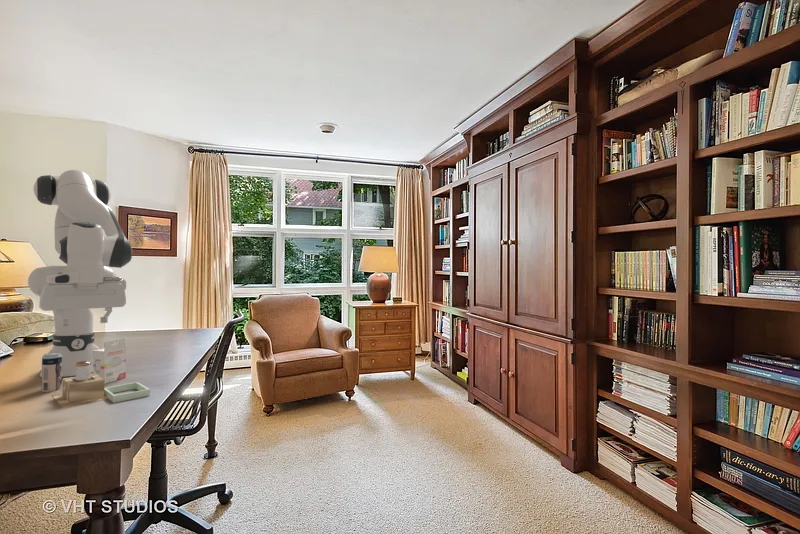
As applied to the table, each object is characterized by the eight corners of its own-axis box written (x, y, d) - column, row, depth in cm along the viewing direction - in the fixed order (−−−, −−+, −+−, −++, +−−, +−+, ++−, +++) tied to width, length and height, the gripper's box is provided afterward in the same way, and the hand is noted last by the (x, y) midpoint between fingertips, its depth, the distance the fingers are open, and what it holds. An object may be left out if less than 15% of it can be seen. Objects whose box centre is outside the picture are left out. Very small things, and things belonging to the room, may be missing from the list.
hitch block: (51, 398, 123) (52, 377, 123) (100, 389, 132) (100, 370, 132) (63, 411, 112) (63, 389, 112) (115, 401, 121) (115, 380, 121)
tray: (102, 397, 124) (102, 388, 124) (137, 390, 131) (137, 382, 131) (113, 406, 117) (113, 396, 117) (149, 398, 124) (149, 389, 124)
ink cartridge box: (114, 379, 144) (114, 336, 144) (126, 380, 143) (127, 337, 143) (91, 386, 136) (91, 341, 136) (103, 387, 135) (104, 341, 135)
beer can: (62, 392, 128) (63, 353, 128) (42, 396, 125) (43, 356, 125) (60, 389, 132) (60, 351, 132) (40, 392, 128) (40, 353, 128)
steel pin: (74, 396, 122) (74, 362, 122) (89, 393, 124) (89, 360, 124) (77, 399, 119) (77, 364, 119) (92, 396, 122) (92, 362, 122)
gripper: (123, 276, 132) (122, 320, 132) (38, 277, 117) (37, 326, 116) (129, 277, 128) (128, 322, 128) (42, 277, 112) (41, 328, 112)
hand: (84, 324), depth 122 cm, fingers open, 8 cm apart
